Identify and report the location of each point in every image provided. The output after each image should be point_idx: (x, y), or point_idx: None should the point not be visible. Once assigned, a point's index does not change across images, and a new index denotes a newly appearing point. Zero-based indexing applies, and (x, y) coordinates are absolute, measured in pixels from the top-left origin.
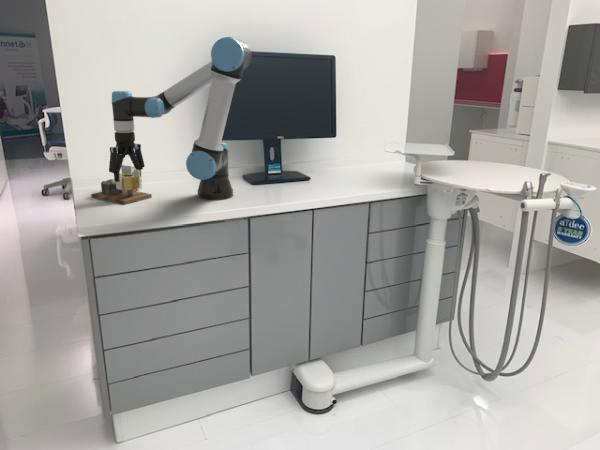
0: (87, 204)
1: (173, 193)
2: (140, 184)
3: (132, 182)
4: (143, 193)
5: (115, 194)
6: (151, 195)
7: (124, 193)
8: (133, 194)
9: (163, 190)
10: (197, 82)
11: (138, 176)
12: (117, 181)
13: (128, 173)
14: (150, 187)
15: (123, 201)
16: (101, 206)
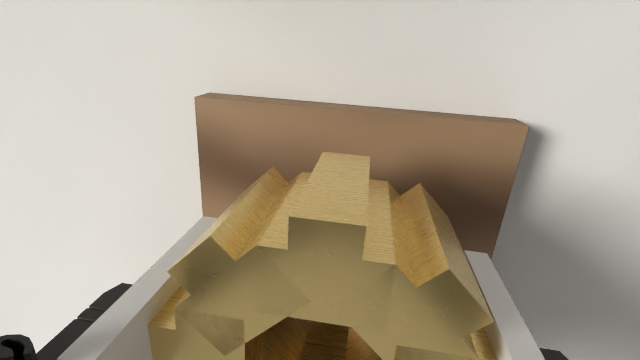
0: (606, 357)
1: (4, 28)
2: (203, 220)
3: (372, 215)
4: (223, 172)
5: None
6: (201, 95)
7: None
8: None
9: (16, 168)
10: None
11: (221, 238)
12: (558, 353)
13: None
14: (39, 291)
15: (521, 144)
16: (634, 246)
